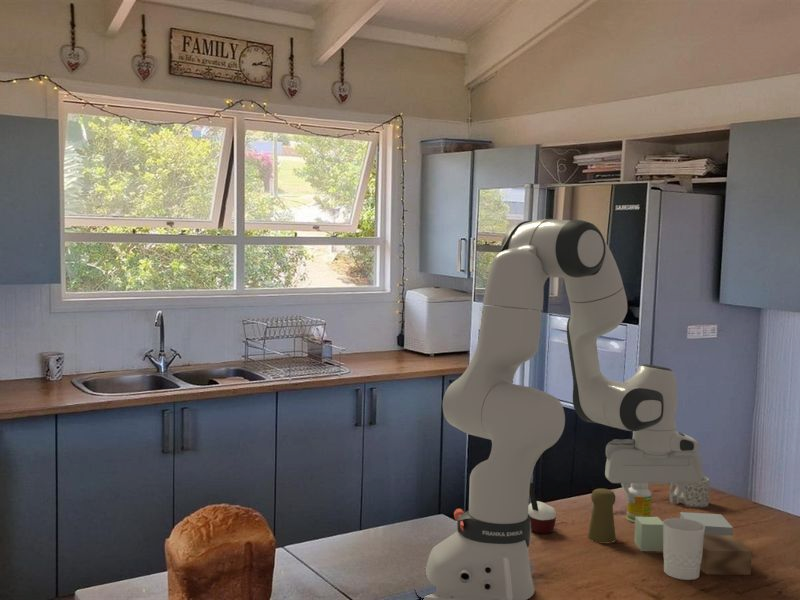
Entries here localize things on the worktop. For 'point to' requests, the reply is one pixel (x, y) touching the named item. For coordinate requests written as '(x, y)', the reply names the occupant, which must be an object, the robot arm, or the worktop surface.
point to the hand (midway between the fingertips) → (652, 502)
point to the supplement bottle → (639, 501)
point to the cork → (602, 516)
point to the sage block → (649, 533)
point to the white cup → (682, 547)
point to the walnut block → (725, 556)
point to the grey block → (710, 523)
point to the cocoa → (540, 514)
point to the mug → (695, 493)
